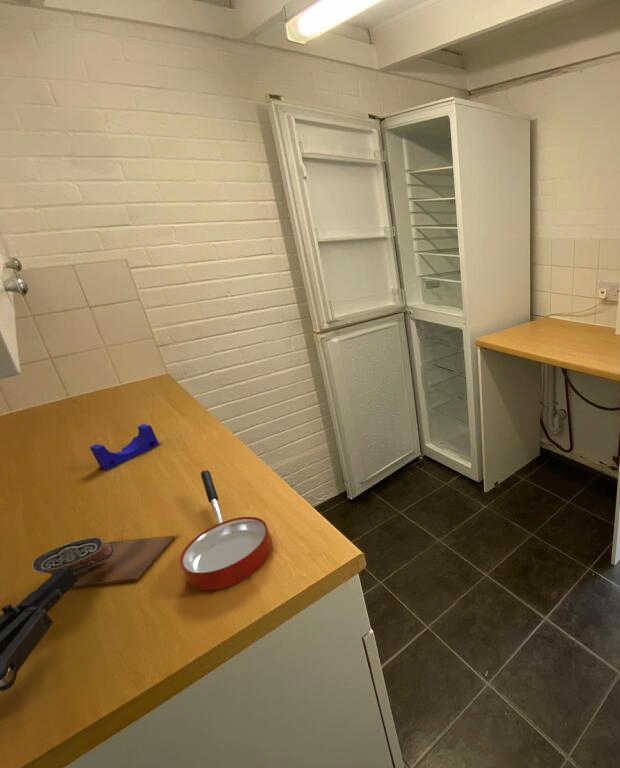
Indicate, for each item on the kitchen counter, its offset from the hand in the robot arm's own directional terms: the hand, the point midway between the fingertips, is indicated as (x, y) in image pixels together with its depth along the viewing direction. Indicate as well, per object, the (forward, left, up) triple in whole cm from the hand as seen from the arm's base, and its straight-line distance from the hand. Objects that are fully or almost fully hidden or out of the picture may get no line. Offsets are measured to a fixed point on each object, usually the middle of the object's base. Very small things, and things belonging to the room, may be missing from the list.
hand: (68, 574), depth 64 cm
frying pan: (+12, +14, -8) cm, 20 cm away
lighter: (-3, +4, +1) cm, 5 cm away
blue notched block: (-28, +49, -8) cm, 57 cm away
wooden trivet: (-2, +10, -8) cm, 13 cm away
